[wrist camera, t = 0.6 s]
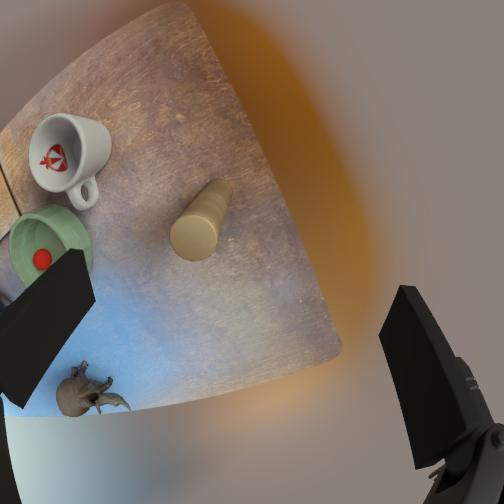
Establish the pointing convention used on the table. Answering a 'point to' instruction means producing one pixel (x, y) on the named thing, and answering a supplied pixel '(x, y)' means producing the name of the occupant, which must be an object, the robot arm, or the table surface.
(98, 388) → the grey animal figure
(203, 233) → the tan wooden cylinder
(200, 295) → the table surface
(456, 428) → the robot arm
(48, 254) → the cherry tomato
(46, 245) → the bowl
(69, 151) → the cup
